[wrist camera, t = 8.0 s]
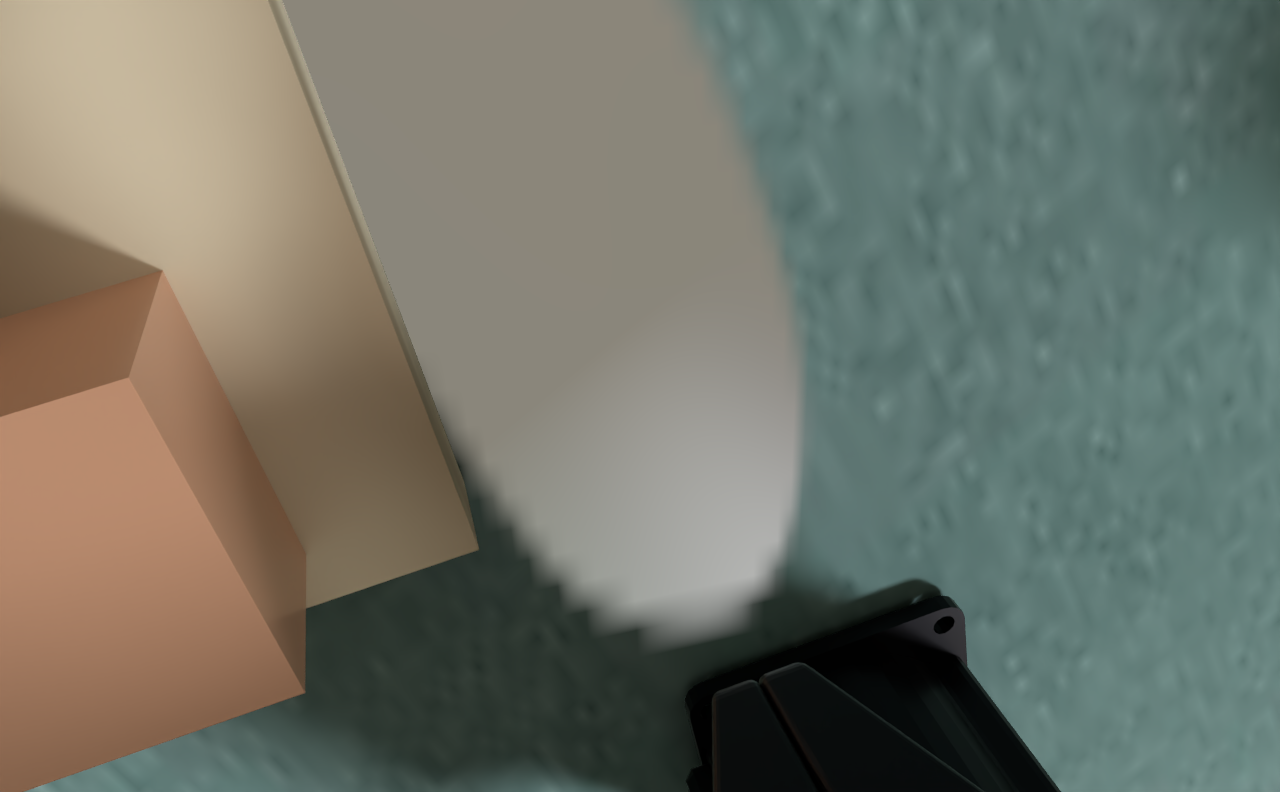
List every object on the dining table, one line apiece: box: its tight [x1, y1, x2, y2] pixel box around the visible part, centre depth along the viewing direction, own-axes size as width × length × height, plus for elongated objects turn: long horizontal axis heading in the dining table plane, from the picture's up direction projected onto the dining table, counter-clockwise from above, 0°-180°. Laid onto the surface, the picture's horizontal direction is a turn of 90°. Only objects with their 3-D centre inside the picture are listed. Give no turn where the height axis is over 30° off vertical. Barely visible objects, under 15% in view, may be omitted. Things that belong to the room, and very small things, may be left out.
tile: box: [0, 270, 306, 792], centre depth 13 cm, size 5×5×3 cm
